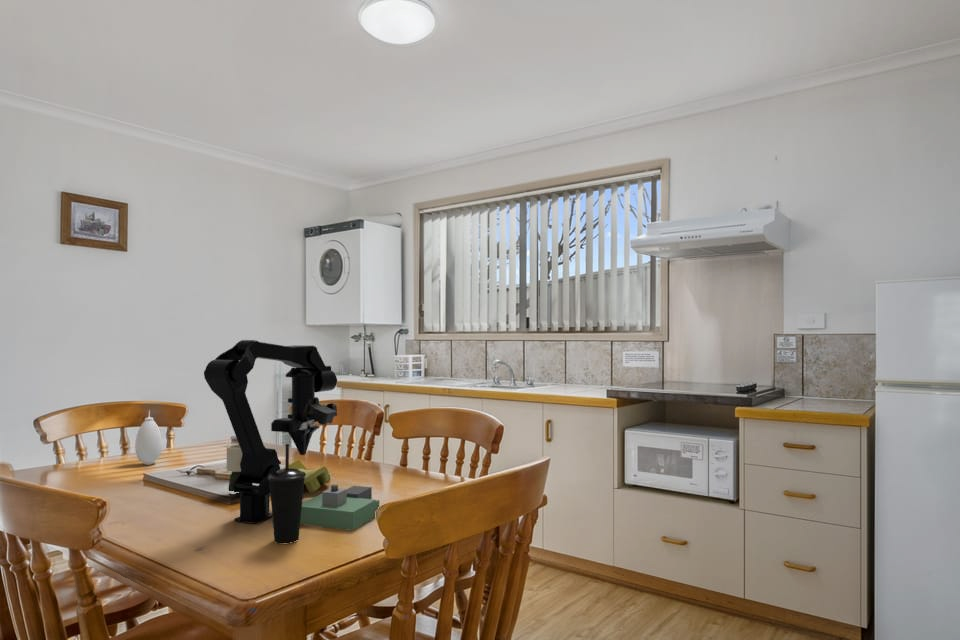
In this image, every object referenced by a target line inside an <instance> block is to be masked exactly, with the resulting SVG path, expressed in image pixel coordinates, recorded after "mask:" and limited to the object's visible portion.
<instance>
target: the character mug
mask: <svg viewBox="0 0 960 640" xmlns="http://www.w3.org/2000/svg"><path fill="white" fill-rule="evenodd" d="M241 458H242V451H241V448H240V446H239V443H235V444H230V445H228V446H227V447H226V471H229V472H231V474H230V476H229V482H228V489H227V491H228V490H229V491H234V490H233V487H232V484H233V482H234V481H235V479H236V478H237V476H238V475H239V473H240V472H241V468H240V462H241ZM252 485H254V483H252Z"/></svg>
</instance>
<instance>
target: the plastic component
mask: <svg viewBox="0 0 960 640" xmlns="http://www.w3.org/2000/svg"><path fill="white" fill-rule="evenodd" d="M289 468H292V469H297V470H300V471H302V472H305V473H306V477H305V478H304V485H305V487H306V489H307V491H308V492H309V493H313V492H316V491H317V490H319V489H320V487H321V484H326V483H328V482H329V480H330V473H329V470H328V468H327V466H323V465H322V466H320V467H319V468H314V469H311V470H308V469H307V468H306V467H305V466H304V464H303V463H302V461H300V460H298V459H297V460H294V461H292V462H291V463H289ZM282 469H285V466H284V467H283V468H282ZM318 481H319V482H318ZM320 483H321V484H320Z"/></svg>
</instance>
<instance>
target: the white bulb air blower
mask: <svg viewBox="0 0 960 640" xmlns="http://www.w3.org/2000/svg"><path fill="white" fill-rule="evenodd" d="M147 413H148V416H147V417H145V418H144V421H143V422H142V423H141V425H140V427H139V429H138V431H137V433H136V437H135V443H134V450H135V454H136V457H137V459H138V461H139V462H142V464H144V465H145V466H150V465H151V466H152V465H153V464H154V463H155V462H156V461H158V459H160V456H161V454H162V452H163V451H162V449H163V438H162V433H161V430H160V428H159V425H158V424H157V423H156V421H155V420H154V417H152V416H151V410H150V409H149V410H148V412H147Z"/></svg>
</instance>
